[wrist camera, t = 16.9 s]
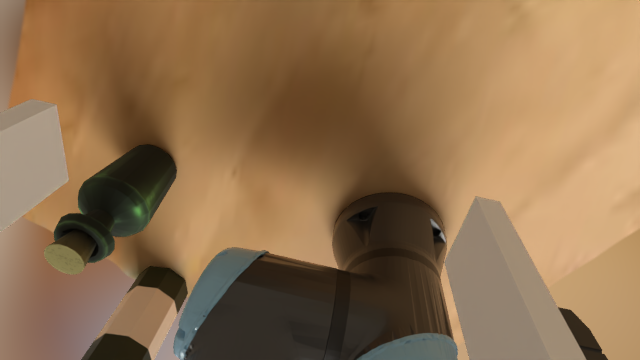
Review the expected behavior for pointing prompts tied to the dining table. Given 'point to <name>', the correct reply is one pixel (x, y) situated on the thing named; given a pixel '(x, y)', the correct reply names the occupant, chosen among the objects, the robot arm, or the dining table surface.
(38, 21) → the dining table surface
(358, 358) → the robot arm
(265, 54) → the dining table surface
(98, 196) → the potion bottle
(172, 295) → the wine bottle
